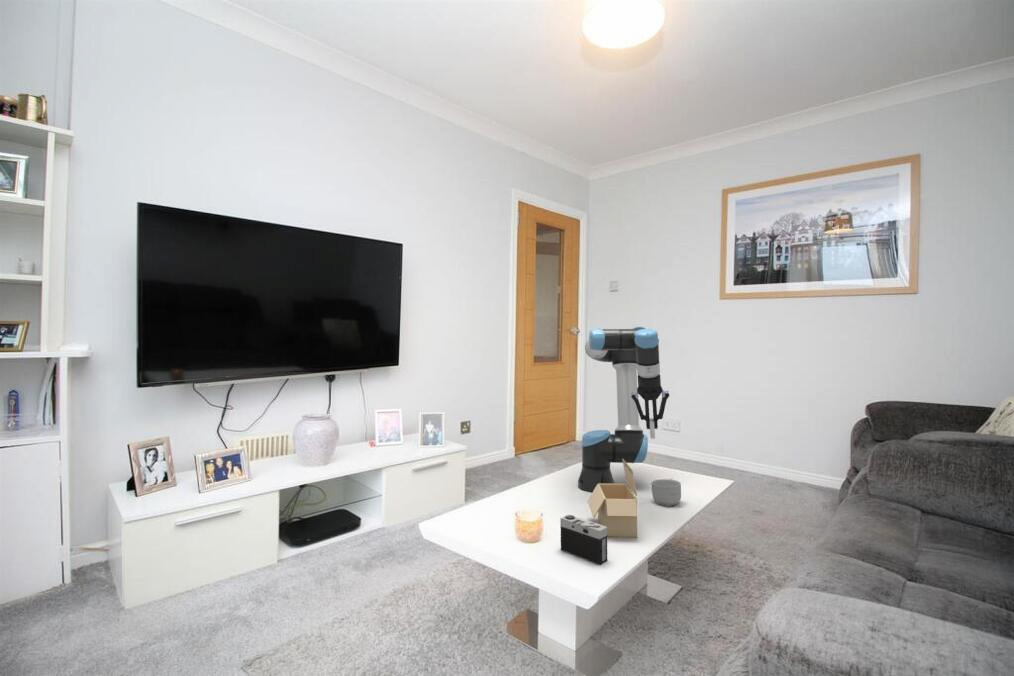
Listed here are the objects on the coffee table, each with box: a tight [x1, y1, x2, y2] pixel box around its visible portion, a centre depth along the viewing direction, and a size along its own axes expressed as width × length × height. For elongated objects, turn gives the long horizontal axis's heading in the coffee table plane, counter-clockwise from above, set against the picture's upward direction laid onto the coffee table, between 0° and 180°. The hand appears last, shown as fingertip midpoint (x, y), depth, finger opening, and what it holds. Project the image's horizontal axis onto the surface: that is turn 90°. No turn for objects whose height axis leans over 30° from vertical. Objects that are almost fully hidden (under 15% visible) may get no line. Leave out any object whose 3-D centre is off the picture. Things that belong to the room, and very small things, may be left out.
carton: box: [587, 483, 639, 539], centre depth 160 cm, size 14×21×12 cm, turn 177°
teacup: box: [650, 477, 682, 506], centre depth 185 cm, size 14×11×8 cm
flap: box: [622, 459, 638, 497], centre depth 160 cm, size 1×16×8 cm, turn 177°
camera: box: [559, 514, 608, 566], centre depth 141 cm, size 14×8×10 cm, turn 45°
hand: (652, 436), depth 172 cm, fingers closed
